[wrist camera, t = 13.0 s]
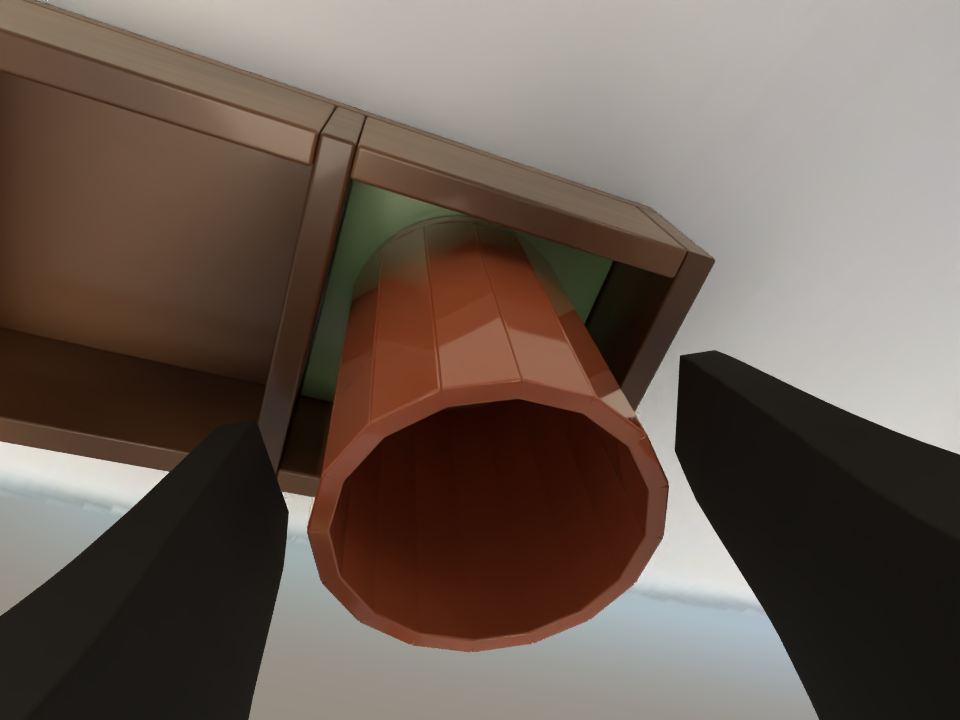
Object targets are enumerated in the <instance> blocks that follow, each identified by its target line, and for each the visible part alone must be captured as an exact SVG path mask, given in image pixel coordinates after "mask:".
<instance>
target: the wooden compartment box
mask: <svg viewBox="0 0 960 720" xmlns="http://www.w3.org/2000/svg"><path fill="white" fill-rule="evenodd" d="M446 216H467V217H474V218H478V219H481V220H484V221H487V222H491V223H494V224H497V225H500V226H504V227H507V228H509V229H511V230H513V231H515V232H517V233H518V234H519V235H521V236H522V237H524V238H525V239H526V240H528V241H529V242H530V243H531V244H532V245H533V246H534V247H535V248H536V249H537V250H538V251H539V252H540V254H541V255H542V256H543V258H545V259H546V260H547V262H548V263H549V264H550V266H551V268H552V270H553V271H554V273H555V275H556V277H557V278H558V280H559V282H560V284H561V285H562V287H563V289H564V291H565V292H566V294H567V296H568V297H569V299H570V301H571V303H572V304H573V306H574V308H575V310H576V311H577V313H578V315H579V317H580V318H581V320H582V322H583V324H584V325H585V327H586V329H587V331H588V332H589V334H590V336H591V338H592V339H593V341H594V343H595V345H596V346H597V348H598V350H599V352H600V353H601V355H602V357H603V359H604V360H605V362H606V364H607V366H608V367H609V369H610V371H611V373H612V374H613V376H614V378H615V380H616V381H617V383H618V385H619V387H620V388H621V390H622V392H623V394H624V395H625V397H626V399H627V401H628V402H629V404H630V406H631V408H632V409H633V411H634V413H635V411H636V409H637V407H638V405H639V403H640V401H641V399H642V398H643V396H644V394H645V392H646V390H647V388H648V386H649V384H650V383H651V381H652V379H653V377H654V375H655V373H656V371H657V369H658V368H659V366H660V364H661V362H662V360H663V358H664V356H665V354H666V353H667V351H668V349H669V347H670V345H671V343H672V341H673V339H674V338H675V336H676V334H677V332H678V330H679V328H680V326H681V324H682V323H683V321H684V319H685V317H686V315H687V313H688V311H689V310H690V308H691V306H692V304H693V302H694V300H695V298H696V296H697V295H698V293H699V291H700V289H701V287H702V285H703V283H704V281H705V280H706V278H707V276H708V274H709V272H710V270H711V268H712V266H713V265H714V263H715V259H714V258H713V257H711V256H710V255H709V254H708V253H706V252H705V251H704V250H703V249H701V248H700V247H699V246H698V245H696V244H695V243H694V242H693V241H692V240H690V239H689V238H688V237H687V236H685V235H684V234H683V233H682V232H680V231H679V230H678V229H677V228H676V227H674V226H673V225H672V224H671V223H669V222H668V221H667V220H666V219H664V218H663V217H662V216H661V215H659V214H658V213H657V212H656V211H654V210H653V209H652V208H650V207H647V206H644V205H641V204H638V203H635V202H632V201H629V200H626V199H623V198H620V197H617V196H614V195H611V194H608V193H605V192H602V191H599V190H596V189H594V188H591V187H588V186H585V185H582V184H579V183H576V182H573V181H570V180H567V179H564V178H561V177H558V176H555V175H552V174H549V173H546V172H543V171H540V170H537V169H534V168H531V167H528V166H525V165H522V164H519V163H517V162H514V161H511V160H508V159H505V158H502V157H499V156H496V155H493V154H490V153H487V152H484V151H481V150H478V149H475V148H472V147H469V146H466V145H463V144H460V143H457V142H454V141H451V140H448V139H445V138H442V137H439V136H437V135H434V134H431V133H428V132H425V131H422V130H419V129H416V128H413V127H410V126H407V125H404V124H401V123H398V122H395V121H392V120H389V119H386V118H383V117H380V116H377V115H374V114H371V113H368V112H365V111H362V110H360V109H357V108H354V107H351V106H348V105H345V104H342V103H339V102H336V101H333V100H330V99H327V98H324V97H321V96H318V95H315V94H312V93H309V92H306V91H303V90H300V89H297V88H294V87H291V86H288V85H285V84H282V83H280V82H277V81H274V80H271V79H268V78H265V77H262V76H259V75H256V74H253V73H250V72H247V71H244V70H241V69H238V68H235V67H232V66H229V65H226V64H223V63H220V62H217V61H214V60H211V59H208V58H205V57H203V56H200V55H197V54H194V53H191V52H188V51H185V50H182V49H179V48H176V47H173V46H170V45H167V44H164V43H161V42H158V41H155V40H152V39H149V38H146V37H143V36H140V35H137V34H134V33H131V32H128V31H125V30H123V29H120V28H117V27H114V26H111V25H108V24H105V23H102V22H99V21H96V20H93V19H90V18H87V17H84V16H81V15H78V14H75V13H72V12H69V11H66V10H63V9H60V8H57V7H54V6H51V5H48V4H46V3H43V2H40V1H37V0H0V441H1V442H7V443H13V444H18V445H24V446H29V447H35V448H40V449H46V450H52V451H57V452H63V453H68V454H74V455H79V456H85V457H91V458H96V459H102V460H107V461H113V462H118V463H124V464H130V465H135V466H141V467H146V468H152V469H157V470H163V471H169V472H170V471H172V470H173V469H174V468H175V467H176V466H177V465H178V464H179V463H180V462H181V461H182V460H183V459H184V458H185V457H186V456H187V455H188V454H189V453H190V452H191V451H192V450H193V449H194V448H195V447H196V446H197V445H198V444H199V443H201V442H202V441H203V440H204V439H205V438H206V437H207V436H208V435H209V434H210V433H211V432H213V431H214V430H215V429H216V428H218V427H219V426H221V425H228V424H234V423H241V422H248V421H254V420H256V421H257V424H258V426H259V429H260V432H261V435H262V438H263V441H264V443H265V446H266V449H267V452H268V455H269V458H270V460H271V463H272V466H273V469H274V472H275V475H276V478H277V480H278V483H279V486H280V489H281V491H282V492H288V493H293V494H299V495H304V496H310V497H313V492H314V486H315V481H316V475H317V470H318V464H319V459H320V453H321V447H322V442H323V436H324V431H325V425H326V420H327V414H328V409H329V403H330V398H331V392H332V387H333V381H334V376H335V370H336V364H337V359H338V353H339V348H340V342H341V337H342V331H343V326H344V320H345V316H346V312H347V309H348V305H349V300H350V294H351V291H352V288H353V285H354V282H355V280H356V278H357V276H358V274H359V272H360V270H361V268H362V267H363V265H364V264H365V262H366V261H367V259H368V258H369V257H370V256H371V255H372V253H373V252H374V251H375V250H376V249H377V248H378V247H379V246H380V245H381V244H383V243H384V242H385V241H386V240H388V239H389V238H390V237H391V236H393V235H395V234H396V233H398V232H400V231H401V230H403V229H405V228H407V227H409V226H412V225H414V224H416V223H419V222H423V221H426V220H429V219H434V218H440V217H446Z"/></svg>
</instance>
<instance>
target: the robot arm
mask: <svg viewBox="0 0 960 720" xmlns="http://www.w3.org/2000/svg"><path fill="white" fill-rule="evenodd" d="M675 453H676V455H677V457H678V460H679V462H680V464H681V467H682V469H683V471H684V474H685V476H686V478H687V481H688V483H689V485H690V487H691V489H692V492H693V494H694V496H695V498H696V500H697V502H698V503H699V505H700V507H701V509H702V510H703V512H704V514H705V515H706V517H707V518H708V520H709V522H710V523H711V525H712V527H713V528H714V530H715V532H716V533H717V535H718V536H719V538H720V540H721V541H722V543H723V544H724V546H725V548H726V549H727V551H728V552H729V554H730V556H731V557H732V559H733V560H734V562H735V564H736V565H737V567H738V568H739V570H740V572H741V573H742V575H743V576H744V578H745V580H746V581H747V583H748V584H749V586H750V588H751V589H752V591H753V593H754V594H755V596H756V597H757V599H758V601H759V602H760V604H761V605H762V607H763V609H764V610H765V612H766V614H767V616H768V617H769V619H770V620H771V623H772V624H773V626H774V628H775V630H776V631H777V633H778V635H779V637H780V639H781V641H782V643H783V645H784V647H785V649H786V651H787V653H788V655H789V657H790V659H791V661H792V663H793V665H794V667H795V669H796V671H797V673H798V675H799V678H800V680H801V681H802V684H803V686H804V688H805V690H806V692H807V694H808V696H809V698H810V700H811V702H812V705H813V707H814V709H815V711H816V713H817V715H818V718H819V720H960V455H959V454H956V453H953V452H950V451H947V450H944V449H942V448H939V447H936V446H933V445H930V444H927V443H924V442H921V441H919V440H916V439H913V438H911V437H908V436H905V435H903V434H900V433H897V432H895V431H892V430H890V429H888V428H885V427H883V426H880V425H878V424H876V423H873V422H871V421H868V420H866V419H864V418H861V417H859V416H856V415H854V414H852V413H849V412H847V411H845V410H843V409H840V408H838V407H836V406H834V405H832V404H829V403H827V402H825V401H823V400H821V399H819V398H816V397H814V396H812V395H810V394H808V393H806V392H804V391H802V390H799V389H797V388H795V387H793V386H791V385H789V384H787V383H785V382H783V381H781V380H779V379H777V378H775V377H773V376H771V375H769V374H767V373H764V372H762V371H760V370H758V369H756V368H754V367H752V366H750V365H748V364H746V363H744V362H742V361H739V360H737V359H735V358H733V357H731V356H728V355H726V354H723V353H721V352H718V351H716V350H713V351H707V352H700V353H694V354H687V355H681V356H680V365H679V383H678V402H677V420H676V438H675ZM288 514H289V512H288V509H287V506H286V503H285V500H284V497H283V495H282V492H281V489H280V486H279V483H278V480H277V478H276V475H275V472H274V469H273V466H272V463H271V460H270V458H269V455H268V452H267V449H266V446H265V443H264V441H263V438H262V435H261V432H260V429H259V426H258V424H257V421H256V420H254V421H248V422H241V423H234V424H228V425H221V426H219V427H218V428H216V429H215V430H214V431H213V432H211V433H210V434H209V435H208V436H207V437H206V438H205V439H204V440H203V441H202V442H201V443H199V444H198V445H197V446H196V447H195V448H194V449H193V450H192V451H191V452H190V453H189V454H188V455H187V456H186V457H185V458H184V459H183V460H182V461H181V462H180V463H179V464H178V465H177V466H176V467H175V468H174V469H173V470H172V471H170V472H169V473H168V474H167V475H166V476H165V477H164V478H163V479H162V480H161V481H160V482H159V483H158V484H157V485H156V486H155V487H154V488H153V489H152V490H151V491H150V492H149V493H147V494H146V495H145V496H144V497H143V498H142V499H141V500H140V501H139V502H138V503H137V504H136V505H135V506H134V507H133V508H132V509H131V510H129V511H128V512H127V513H126V514H125V515H124V516H123V517H122V518H120V519H119V520H118V521H117V522H116V523H115V524H114V525H113V526H112V527H110V528H109V529H108V530H107V531H106V532H105V533H103V534H102V535H101V536H100V537H99V538H98V539H97V540H96V541H94V542H93V543H92V544H91V545H90V546H89V547H88V548H87V549H85V550H84V551H83V552H82V553H81V554H80V555H79V556H77V557H76V558H75V559H74V560H73V561H71V562H70V563H69V564H68V565H66V566H65V567H64V568H63V569H61V570H60V571H59V572H58V573H56V574H55V575H54V576H53V577H51V578H50V579H49V580H48V581H46V582H45V583H44V584H43V585H41V586H40V587H39V588H37V589H36V590H35V591H33V592H32V593H31V594H29V595H28V596H27V597H25V598H24V599H23V600H21V601H20V602H19V603H18V604H16V605H15V606H14V607H12V608H11V609H10V610H8V611H7V612H6V613H4V614H3V615H1V616H0V720H248V719H249V714H250V709H251V704H252V699H253V694H254V690H255V686H256V681H257V677H258V673H259V669H260V665H261V660H262V656H263V652H264V648H265V644H266V639H267V636H268V631H269V627H270V623H271V619H272V615H273V610H274V606H275V602H276V597H277V593H278V589H279V585H280V580H281V576H282V571H283V566H284V557H285V549H286V539H287V526H288Z"/></svg>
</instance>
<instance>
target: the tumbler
mask: <svg viewBox="0 0 960 720" xmlns="http://www.w3.org/2000/svg"><path fill="white" fill-rule="evenodd" d="M668 490H669V485H668V480H667V478H666V476H665V473H664V471H663V469H662V467H661V465H660V462H659V460H658V458H657V456H656V453H655V451H654V449H653V447H652V445H651V442H650V440H649V438H648V436H647V434H646V432H645V430H644V429H643V427H642V425H641V423H640V422H639V420H638V418H637V416H636V415H635V413H634V411H633V409H632V408H631V406H630V404H629V402H628V401H627V399H626V397H625V395H624V394H623V392H622V390H621V388H620V387H619V385H618V383H617V381H616V380H615V378H614V376H613V374H612V373H611V371H610V369H609V367H608V366H607V364H606V362H605V360H604V359H603V357H602V355H601V353H600V352H599V350H598V348H597V346H596V345H595V343H594V341H593V339H592V338H591V336H590V334H589V332H588V331H587V329H586V327H585V325H584V324H583V322H582V320H581V318H580V317H579V315H578V313H577V311H576V310H575V308H574V306H573V304H572V303H571V301H570V299H569V297H568V296H567V294H566V292H565V291H564V289H563V287H562V285H561V284H560V282H559V280H558V278H557V277H556V275H555V273H554V271H553V270H552V268H551V266H550V264H549V263H548V262H547V260H546V259H545V258H543V256H542V255H541V254H540V252H539V251H538V250H537V249H536V248H535V247H534V246H533V245H532V244H531V243H530V242H529V241H528V240H526V239H525V238H524V237H522V236H521V235H519V234H518V233H517V232H515V231H513V230H511V229H509V228H507V227H504V226H500V225H497V224H494V223H491V222H487V221H484V220H481V219H478V218H474V217H467V216H446V217H440V218H434V219H429V220H426V221H423V222H419V223H416V224H414V225H412V226H409V227H407V228H405V229H403V230H401V231H400V232H398V233H396V234H395V235H393V236H391V237H390V238H389V239H388V240H386V241H385V242H384V243H383V244H381V245H380V246H379V247H378V248H377V249H376V250H375V251H374V252H373V253H372V255H371V256H370V257H369V258H368V259H367V261H366V262H365V264H364V265H363V267H362V268H361V270H360V272H359V274H358V276H357V278H356V280H355V282H354V285H353V288H352V291H351V294H350V300H349V305H348V309H347V312H346V316H345V320H344V326H343V331H342V337H341V342H340V348H339V353H338V359H337V364H336V370H335V376H334V381H333V387H332V392H331V398H330V403H329V409H328V414H327V420H326V425H325V431H324V436H323V442H322V447H321V453H320V459H319V464H318V470H317V475H316V481H315V486H314V492H313V497H312V503H311V508H310V514H309V519H308V525H307V534H308V537H309V541H310V545H311V548H312V552H313V555H314V559H315V562H316V566H317V570H318V573H319V577H320V580H321V581H322V584H324V586H325V587H326V588H327V589H328V590H329V591H330V592H331V593H332V594H333V595H334V596H335V597H336V598H337V599H338V600H339V601H340V602H341V603H342V605H343V606H344V607H345V608H346V609H347V610H348V611H349V612H350V613H351V614H352V615H353V616H354V617H355V618H356V619H357V620H358V621H360V622H361V623H363V624H365V625H367V626H370V627H372V628H374V629H376V630H379V631H381V632H383V633H385V634H388V635H390V636H392V637H394V638H396V639H399V640H401V641H403V642H405V643H408V644H412V645H414V646H423V647H431V648H439V649H448V650H456V651H464V652H471V651H472V652H478V651H484V650H492V649H499V648H506V647H513V646H520V645H527V644H531V643H532V642H533V643H536V642H538V641H541V640H543V639H545V638H548V637H550V636H552V635H555V634H557V633H560V632H562V631H564V630H567V629H569V628H572V627H574V626H576V625H579V624H581V623H583V622H586V621H588V619H591V618H593V617H594V616H595V615H596V614H598V613H599V612H600V611H601V610H603V609H604V608H605V607H606V606H608V605H609V604H610V603H611V602H613V601H614V600H615V599H616V598H618V597H619V596H620V595H621V594H623V593H624V592H625V591H626V590H628V589H629V588H630V587H631V586H633V585H634V583H635V582H636V581H637V580H638V578H639V576H640V575H641V573H642V571H643V570H644V568H645V567H646V565H647V563H648V562H649V560H650V558H651V557H652V555H653V553H654V552H655V550H656V549H657V547H658V545H659V544H660V542H661V540H662V539H663V536H664V528H665V519H666V509H667V500H668Z"/></svg>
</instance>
